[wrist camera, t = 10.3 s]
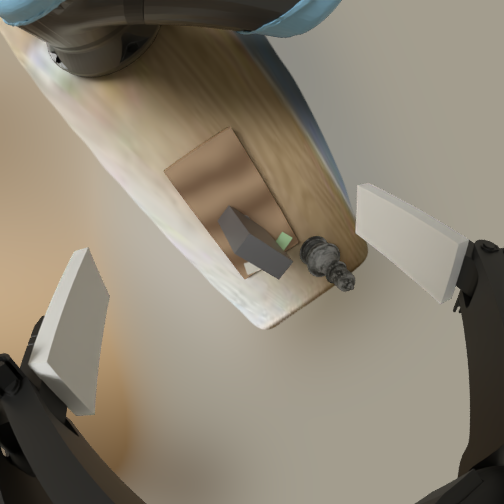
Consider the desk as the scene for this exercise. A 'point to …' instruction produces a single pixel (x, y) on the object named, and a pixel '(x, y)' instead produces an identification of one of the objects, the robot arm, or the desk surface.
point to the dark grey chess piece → (326, 262)
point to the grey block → (253, 243)
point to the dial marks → (282, 242)
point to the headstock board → (227, 190)
